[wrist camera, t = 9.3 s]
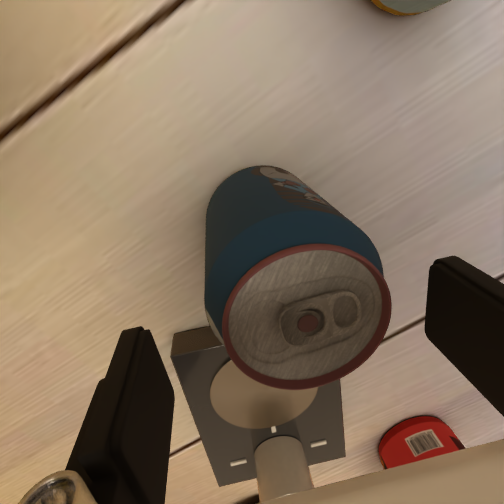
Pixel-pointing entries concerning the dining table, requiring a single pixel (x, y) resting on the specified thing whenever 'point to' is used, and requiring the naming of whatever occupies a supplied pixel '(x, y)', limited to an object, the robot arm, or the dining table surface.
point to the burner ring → (254, 399)
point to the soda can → (290, 282)
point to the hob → (246, 439)
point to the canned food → (417, 441)
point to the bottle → (407, 6)
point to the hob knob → (281, 468)
